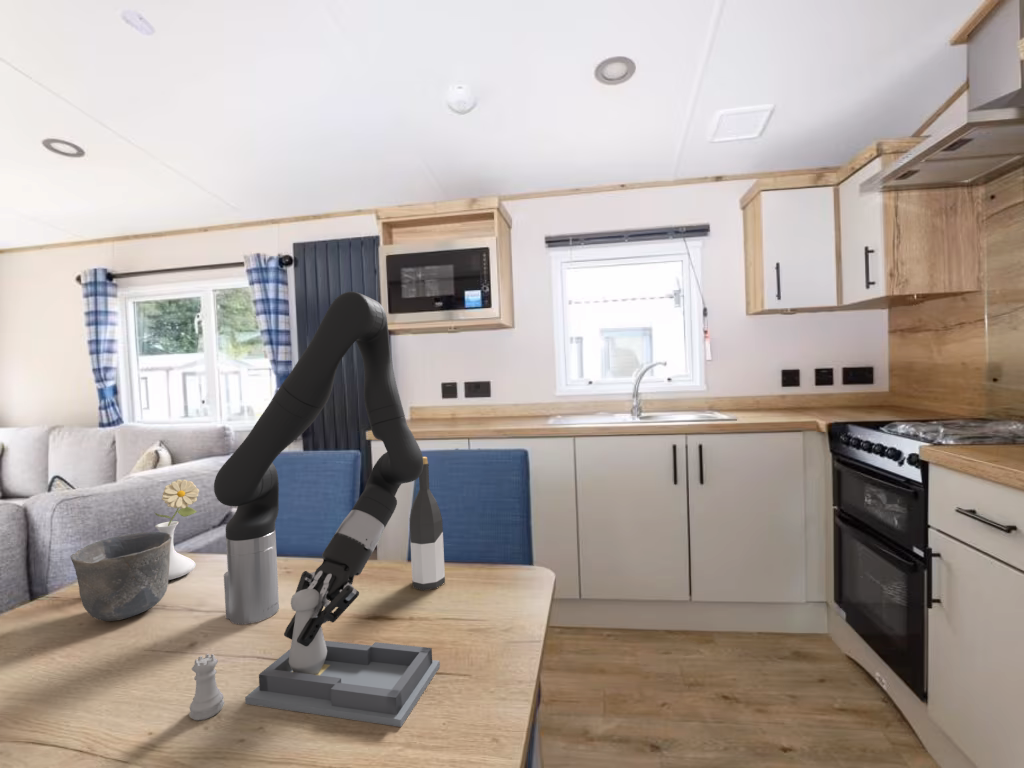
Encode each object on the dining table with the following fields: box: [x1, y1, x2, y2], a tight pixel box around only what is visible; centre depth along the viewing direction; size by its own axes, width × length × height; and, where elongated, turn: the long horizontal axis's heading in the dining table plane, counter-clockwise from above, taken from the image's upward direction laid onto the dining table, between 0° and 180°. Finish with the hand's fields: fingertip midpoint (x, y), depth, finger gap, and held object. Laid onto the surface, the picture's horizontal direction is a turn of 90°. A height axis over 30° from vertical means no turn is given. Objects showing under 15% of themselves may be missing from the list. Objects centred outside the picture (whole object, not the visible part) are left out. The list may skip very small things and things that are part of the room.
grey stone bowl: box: [70, 531, 172, 622], centre depth 105 cm, size 18×18×15 cm
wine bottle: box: [409, 456, 446, 591], centre depth 113 cm, size 8×8×30 cm
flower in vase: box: [154, 479, 200, 581], centre depth 124 cm, size 13×11×25 cm
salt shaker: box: [289, 589, 327, 675], centre depth 78 cm, size 6×6×13 cm
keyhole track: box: [244, 640, 441, 728], centre depth 76 cm, size 26×14×4 cm, turn 76°
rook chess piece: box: [188, 653, 225, 722], centre depth 71 cm, size 4×4×8 cm
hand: (295, 640), depth 76 cm, fingers closed on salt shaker, 3 cm apart
